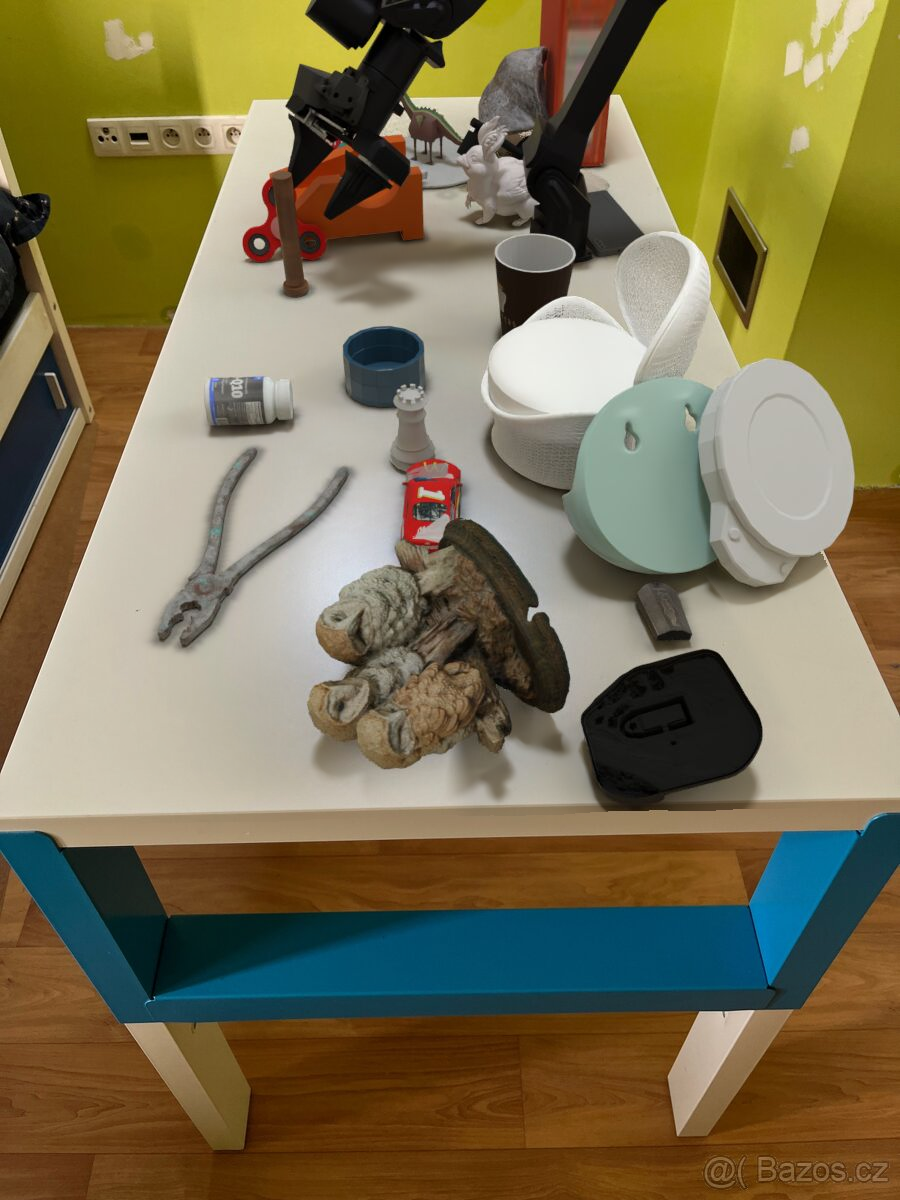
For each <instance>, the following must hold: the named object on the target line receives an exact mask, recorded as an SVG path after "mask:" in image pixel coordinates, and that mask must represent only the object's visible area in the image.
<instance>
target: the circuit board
mask: <svg viewBox="0 0 900 1200" xmlns="http://www.w3.org/2000/svg"><path fill="white" fill-rule="evenodd" d="M474 130H475V128H473V127H472V126H471V129H470V131H472V132H473V131H474ZM505 139H506V140H508V141H509V142H511V143H512V144H514V145H515V146H516V145H517V144H518V143H519V142H520V141H521V140H522V139H523V137H522V136H521V134H520V133H519V134H515V135H508V136H505ZM479 145H480V144H479ZM495 153H502V154H503V153H504V154H505V153H507V154H508V153H509V152H508V151H507V150H505V149H504V148H502V147H501V146H500V148H499V149H498V150H497V151H496V152H495Z"/></svg>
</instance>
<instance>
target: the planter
mask: <svg viewBox="0 0 900 1200" xmlns="http://www.w3.org/2000/svg"><path fill="white" fill-rule="evenodd" d="M714 391H715V389H712V388H711V387H709V386H707V385H705V384H703V383H701V382H698V381H695V380H692V379H688V378H684V377H683V378H679V377H669V376H668V377H666V378H658V379H652V380H649V381H645V382H642V383H639V384H637V385H634V386H632V387H630V388H628V389H626V390H624V391H622V392H621V393H619V394H618V395H616V396H615V397H613V398H612V399H611V400H610V401H609V402H608V403H606V404H605V405H604V406H603V408H602V409H601V410H600V411H599V412H598V413H597V415H596V416H595V417H594V419H593V420H592V422H591V423H590V425H589V427H588V429H587V431H586V433H585V435H584V437H583V439H582V442H581V445H579V446H580V449H578V450H579V452H578V458H576V459H577V460H576V461H577V464H575V465H576V466H575V467H576V470H575V469H574V470H575V473H574V474H575V476H574V482H573V484H572V485H573V486H572V489H571V490H569V492H567V493H565V494H563V495H562V496H561V498H562V505H563V509H564V511H565V515H566V517H567V519H568V522H569V524H570V526H571V527H572V529H573V530H574V532H575V534H576V535H577V536H578V538H579V539H580V540H581V542H583V544H585V546H586V547H587V548H588V549H590V550H591V551H592V552H593V553H594V554H596V555H597V556H599V557H600V558H601V559H603V560H605V561H606V562H608V563H610V564H612V565H614V566H616V567H618V568H621V569H624V570H627V571H630V572H635V573H640V574H644V575H645V574H646V575H674V574H681V573H688V572H692V571H696V570H700V569H703V568H704V567H706V566H709V565H710V564H711V563H713V562H715V561H716V560H717V559H718V557H717V556H716V554H715V552H714V550H713V548H712V546H711V544H710V512H711V503H710V500H709V497H708V494H707V491H706V488H705V485H704V482H703V479H702V476H701V470H700V461H699V452H698V439H699V431H700V423H701V417H702V414H703V412H704V410H705V407H706V405H707V403H708V400H709V398H710V396H711V394H712V393H713V392H714ZM686 410H687V412H686ZM687 413H688V415H689V416H690V417H692V418H693V420H694V422H695V428H694V430H693V431H691V430H689V429H688V427H687V424H686V420H687ZM625 425H627V427H628V429H629V432H628V433H630V434H631V435H632V436H633V437H634V438H635V449H634V451H629V450H628V449H627V448H626V447H625V446H626V445H625V444H624V440H625V438H626V437H625V436H626V431H625ZM718 560H719V559H718Z"/></svg>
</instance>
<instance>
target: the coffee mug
mask: <svg viewBox="0 0 900 1200" xmlns="http://www.w3.org/2000/svg"><path fill="white" fill-rule="evenodd" d="M575 256H576V252H575V250H574V248H573V247H572V245H571V244H569V243H568V242H566V241H565V240H562V239H560V238H557V237H554V236H550V235H544V234H530V233H522V234H516V235H513V236H510V237H507V238H505V239H503V240H502V241H500V242H499V243H498V244H497V245H496V246H495V248H494V263H495V273H496V274H495V275H496V286H497V297H498V306H499V307H498V308H499V318H500V328H501V338H502V337H503V336H504V335H505V334H507V333H508V332H510V331H511V330H513V329H514V328H517V327H519V326H521V325H523V324H524V323H525V322H526V321H527V320H528V319H529V318H530V317H531V316H532V315H533V314H534V313H536V312H537V311H538V310H539V309H541V308H542V307H544V306H545V305H547V304H548V303H550V302H552V301H554V300H556V299H559V298H561V297H567V296H568V293H569V289H570V285H571V281H572V280H571V279H572V275H573V270H574V266H575V263H574V261H575ZM562 306H564V305H562ZM562 308H563V307H562ZM555 309H556V308H555ZM560 309H561V308H560ZM563 310H565V309H563ZM563 310H562V311H563ZM555 311H556V310H555ZM559 311H560V310H559ZM557 312H558V311H557ZM560 312H561V311H560ZM547 313H548V312H547ZM550 313H551V312H550ZM555 314H556V313H555ZM557 314H558V313H557ZM547 315H549V314H547ZM547 315H546V316H547ZM551 315H552V314H551ZM551 315H549V316H551ZM558 315H559V314H558ZM558 315H555V318H556V317H557V316H558ZM562 315H564V313H562ZM552 316H553V315H552ZM552 316H551V317H552ZM558 317H560V315H559V316H558ZM558 317H557V318H558ZM548 318H549V317H548ZM546 319H547V318H546ZM550 319H551V318H550ZM540 320H541V319H540ZM543 320H544V319H543Z"/></svg>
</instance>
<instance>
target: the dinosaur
mask: <svg viewBox="0 0 900 1200" xmlns="http://www.w3.org/2000/svg"><path fill="white" fill-rule="evenodd" d="M400 103H401V105H402V107H404V108H405V110H404V112H405V113H406V115H407V117H408V118H409V120H410V121H409V124H408V133H409V136H403V137H404V139H405V142H406V157H407V159H409V160H410V167H415V166H418V167H419V169H420V170H423V169H425V170H427V171H428V177H427V179H423V180H422V185H423V189H438V188H445V187H446V188H448V187H452V186H454V187H455V186H457V185H461V184H464V183H467V182H468V179H469V177H468V176H467V175H466V173H465V172H464V169H463V168H462V167H461V166H460V165H459V164H458V163H457V160H456V159H457V157H459V156H461V155H460V154H458V153H457V150H458V148H459V146H460V145H461V143H462V141H463V139H464V138H462V137H461V136H460V135H459V134H458V132H457V131H456V130H455V129H454V128H453V126H452V125H451V124H450V123H449V122H448V121H447V120H446V118H445V116H444V115H443V114H440V113H439V112H438V111H437V108H433V109H431V107H428V108H427V106H426V105H425V106H424V107H423V106H420V107H418V106H416V104H415V103H414V102H413V101H412V99H411V98H410V96H409V94H408V93H407V92H406V93H405V95H404V97H403V98H402V100H401V101H400ZM456 170H457V171H456ZM452 172H453V173H452ZM450 181H451V182H450ZM446 183H447V184H446Z"/></svg>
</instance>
